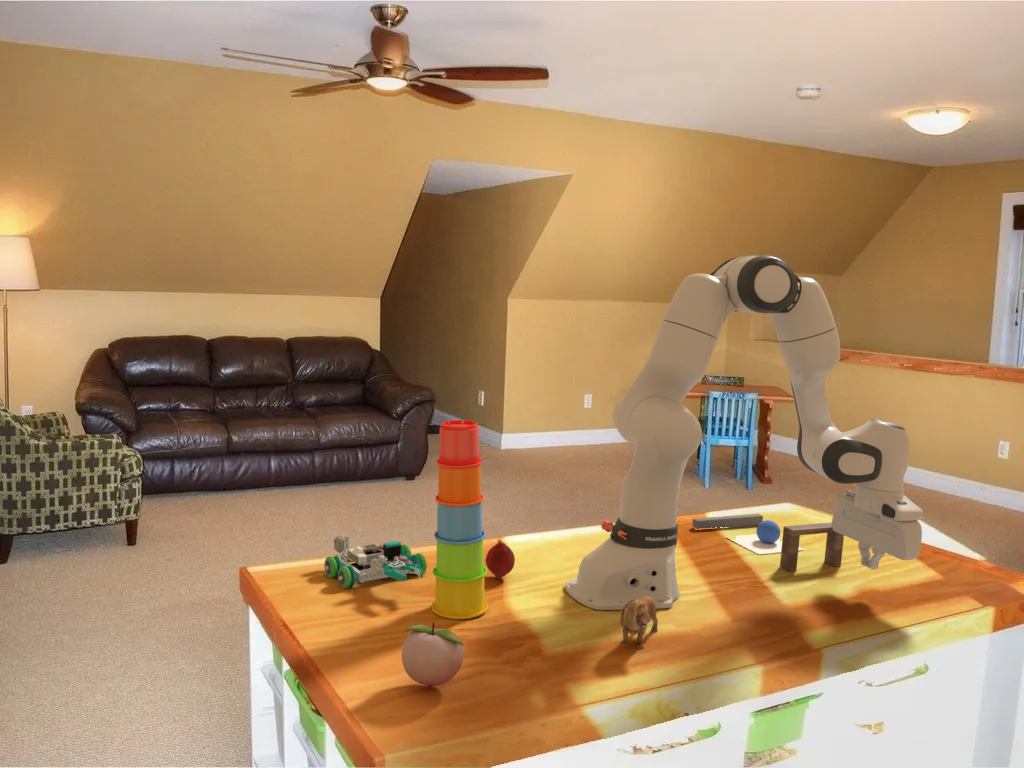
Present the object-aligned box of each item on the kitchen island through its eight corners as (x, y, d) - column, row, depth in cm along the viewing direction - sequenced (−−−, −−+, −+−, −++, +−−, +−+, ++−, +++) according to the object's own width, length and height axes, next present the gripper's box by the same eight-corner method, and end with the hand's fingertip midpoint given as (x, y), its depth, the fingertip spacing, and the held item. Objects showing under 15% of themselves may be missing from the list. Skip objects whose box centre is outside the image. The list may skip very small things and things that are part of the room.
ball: (767, 547, 204) (768, 524, 203) (751, 541, 208) (752, 519, 208) (784, 544, 206) (785, 522, 206) (768, 539, 211) (769, 517, 211)
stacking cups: (474, 624, 151) (484, 430, 147) (421, 613, 155) (429, 423, 150) (496, 604, 161) (505, 421, 156) (445, 594, 164) (453, 415, 160)
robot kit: (372, 614, 154) (374, 564, 153) (315, 571, 174) (316, 526, 173) (460, 595, 165) (462, 548, 164) (397, 556, 185) (398, 514, 184)
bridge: (840, 565, 193) (845, 526, 192) (789, 571, 188) (793, 530, 186) (831, 561, 196) (835, 522, 195) (779, 566, 190) (783, 526, 189)
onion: (515, 574, 177) (517, 536, 176) (512, 584, 172) (514, 545, 171) (486, 571, 178) (488, 534, 177) (483, 581, 172) (485, 542, 171)
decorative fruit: (391, 697, 125) (393, 631, 123) (407, 671, 133) (409, 609, 131) (454, 706, 123) (457, 639, 122) (467, 679, 131) (470, 616, 130)
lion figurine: (646, 660, 141) (650, 607, 140) (614, 654, 143) (618, 602, 141) (660, 626, 155) (663, 578, 154) (630, 621, 156) (634, 573, 155)
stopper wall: (696, 530, 214) (697, 520, 214) (692, 528, 216) (693, 518, 216) (762, 525, 222) (763, 515, 222) (757, 523, 224) (758, 513, 224)
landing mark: (759, 554, 198) (759, 554, 198) (724, 537, 210) (724, 536, 210) (804, 550, 203) (804, 549, 203) (767, 533, 215) (767, 533, 215)
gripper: (828, 487, 182) (820, 551, 184) (906, 515, 163) (896, 585, 165) (852, 486, 184) (843, 549, 186) (931, 514, 166) (920, 583, 167)
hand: (869, 566), depth 175 cm, fingers closed
